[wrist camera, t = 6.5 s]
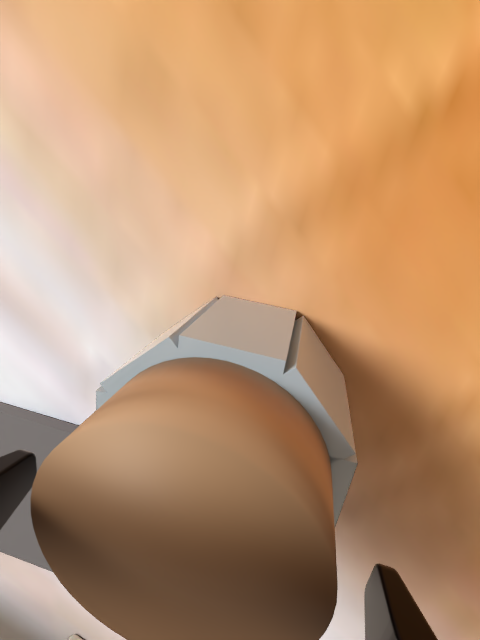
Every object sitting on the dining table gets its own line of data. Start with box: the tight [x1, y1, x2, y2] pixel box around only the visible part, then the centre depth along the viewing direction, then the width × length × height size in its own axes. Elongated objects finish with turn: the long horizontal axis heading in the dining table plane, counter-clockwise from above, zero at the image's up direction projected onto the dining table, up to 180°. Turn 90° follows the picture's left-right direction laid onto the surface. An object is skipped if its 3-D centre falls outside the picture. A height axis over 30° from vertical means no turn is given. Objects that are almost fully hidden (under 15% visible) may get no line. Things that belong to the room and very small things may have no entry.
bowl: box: [96, 295, 358, 528], centre depth 12 cm, size 8×8×4 cm
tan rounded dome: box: [30, 357, 337, 640], centre depth 9 cm, size 7×7×3 cm
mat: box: [0, 402, 79, 572], centre depth 19 cm, size 11×11×1 cm
